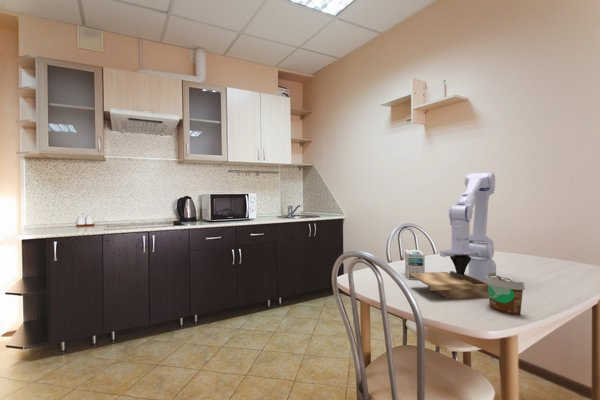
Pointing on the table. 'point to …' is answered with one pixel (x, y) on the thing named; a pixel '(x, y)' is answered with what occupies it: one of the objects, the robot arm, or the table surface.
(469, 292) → the mailer box
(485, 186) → the robot arm
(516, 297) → the food container
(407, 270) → the light bulb box
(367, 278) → the table surface
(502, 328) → the table surface
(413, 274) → the mailer lid
